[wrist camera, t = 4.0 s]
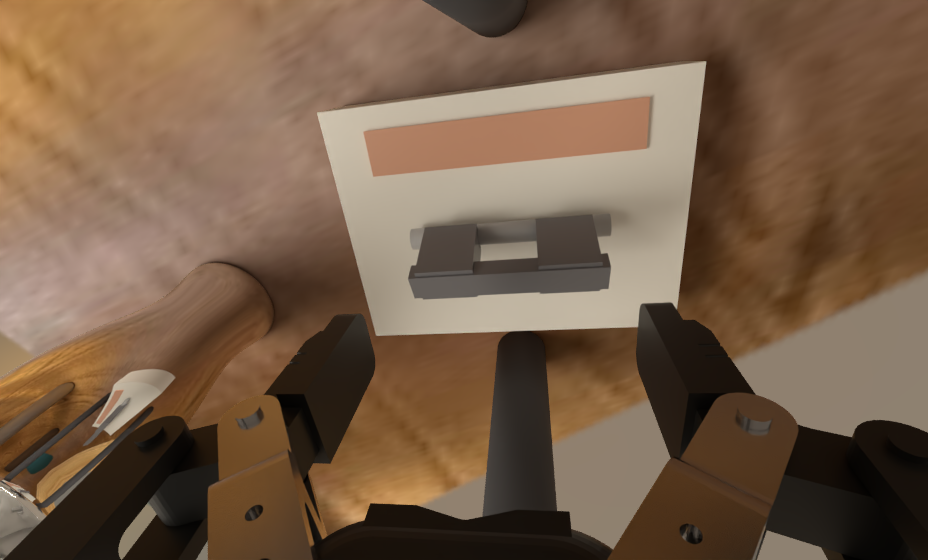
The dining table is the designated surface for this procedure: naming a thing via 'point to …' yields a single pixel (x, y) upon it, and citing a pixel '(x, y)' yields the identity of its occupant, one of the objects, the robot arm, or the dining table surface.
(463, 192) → the breaker panel
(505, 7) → the cable post near arm
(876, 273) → the dining table surface
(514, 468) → the post
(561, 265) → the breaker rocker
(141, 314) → the beer glass
